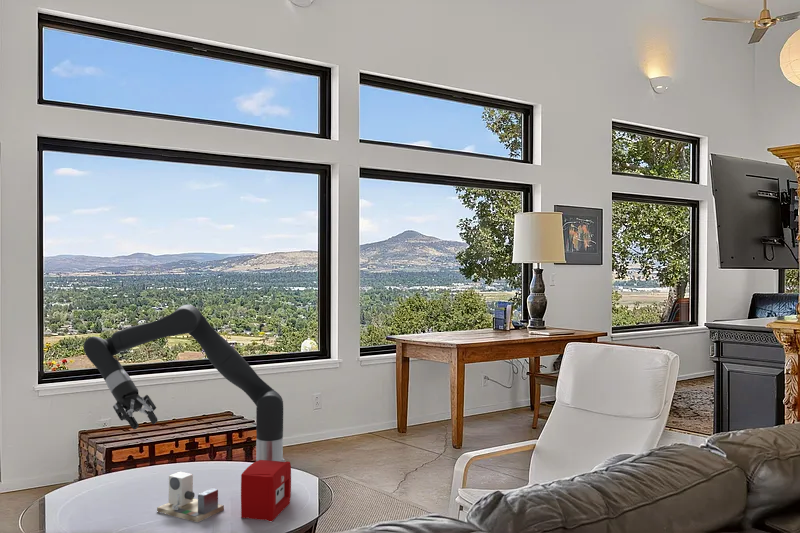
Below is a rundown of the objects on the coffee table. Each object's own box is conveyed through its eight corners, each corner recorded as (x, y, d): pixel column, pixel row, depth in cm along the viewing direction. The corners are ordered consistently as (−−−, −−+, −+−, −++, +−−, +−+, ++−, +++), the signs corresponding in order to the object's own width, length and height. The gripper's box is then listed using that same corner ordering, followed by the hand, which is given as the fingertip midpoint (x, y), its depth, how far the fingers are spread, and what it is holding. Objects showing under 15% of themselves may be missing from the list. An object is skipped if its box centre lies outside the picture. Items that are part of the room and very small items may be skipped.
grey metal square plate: (197, 513, 234) (197, 494, 234) (211, 506, 240) (212, 488, 239) (203, 514, 233) (204, 495, 233) (217, 508, 238) (218, 489, 238)
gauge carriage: (161, 506, 238) (161, 478, 237) (179, 498, 245) (180, 471, 245) (178, 510, 234) (179, 482, 234) (197, 502, 242) (197, 475, 241)
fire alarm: (273, 522, 232) (273, 474, 231) (240, 518, 234) (241, 471, 233) (291, 503, 248) (291, 459, 247) (260, 501, 250) (260, 456, 249)
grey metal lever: (175, 509, 235) (175, 495, 235) (179, 507, 237) (179, 493, 237) (177, 510, 235) (177, 495, 235) (181, 508, 236) (181, 493, 236)
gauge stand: (157, 512, 238) (157, 506, 238) (184, 500, 249) (184, 495, 249) (197, 522, 230) (197, 516, 230) (223, 509, 241) (223, 504, 241)
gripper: (110, 382, 244) (135, 423, 239) (143, 376, 257) (168, 414, 252) (98, 396, 247) (123, 436, 242) (131, 389, 259) (155, 427, 255)
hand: (146, 425), depth 247 cm, fingers open, 8 cm apart
